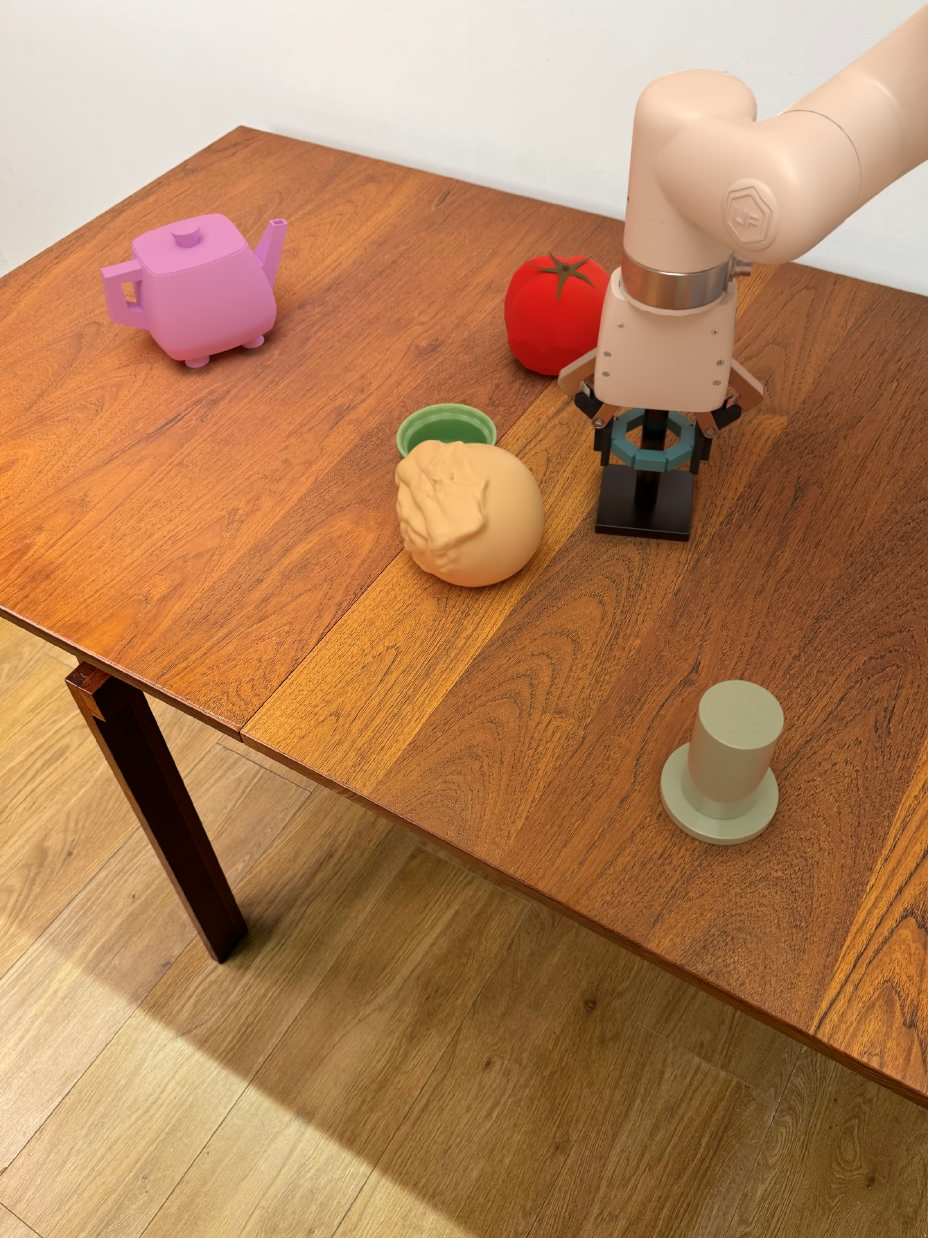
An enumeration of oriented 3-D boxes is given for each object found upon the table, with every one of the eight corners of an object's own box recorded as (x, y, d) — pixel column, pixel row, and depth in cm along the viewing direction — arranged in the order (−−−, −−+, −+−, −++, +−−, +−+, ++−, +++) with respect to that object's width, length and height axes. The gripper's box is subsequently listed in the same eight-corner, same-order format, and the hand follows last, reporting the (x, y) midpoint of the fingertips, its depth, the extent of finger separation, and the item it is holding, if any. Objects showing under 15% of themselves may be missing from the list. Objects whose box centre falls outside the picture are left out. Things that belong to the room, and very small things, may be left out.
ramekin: (398, 444, 95) (393, 407, 91) (492, 435, 95) (491, 398, 91) (403, 510, 89) (398, 473, 86) (503, 500, 89) (502, 463, 86)
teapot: (145, 397, 101) (104, 285, 91) (111, 335, 108) (70, 226, 98) (325, 333, 107) (305, 222, 97) (281, 279, 114) (258, 170, 104)
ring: (695, 420, 84) (697, 408, 83) (691, 475, 80) (693, 463, 79) (614, 413, 85) (615, 402, 84) (606, 467, 81) (607, 455, 80)
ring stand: (775, 752, 72) (805, 669, 64) (776, 854, 67) (809, 777, 59) (662, 737, 73) (679, 655, 65) (655, 836, 68) (672, 759, 60)
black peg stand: (692, 478, 90) (711, 368, 81) (688, 542, 85) (708, 432, 76) (603, 470, 91) (612, 361, 82) (594, 533, 86) (603, 424, 77)
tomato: (479, 358, 103) (474, 259, 94) (558, 312, 107) (561, 214, 98) (560, 411, 97) (564, 311, 88) (641, 361, 101) (652, 260, 92)
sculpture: (385, 530, 87) (370, 435, 79) (511, 492, 90) (510, 396, 81) (429, 624, 81) (418, 530, 72) (564, 579, 83) (569, 484, 75)
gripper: (800, 246, 71) (755, 439, 85) (558, 233, 74) (552, 422, 88) (803, 307, 66) (755, 500, 80) (545, 290, 69) (541, 480, 83)
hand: (649, 458), depth 84 cm, fingers closed on ring, 6 cm apart
